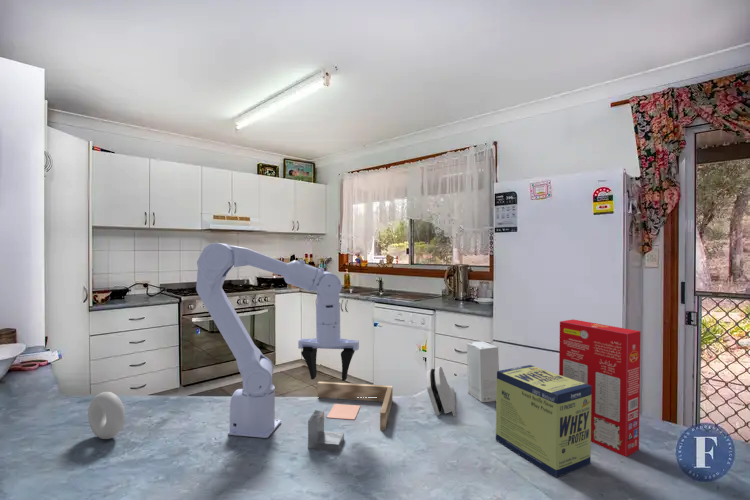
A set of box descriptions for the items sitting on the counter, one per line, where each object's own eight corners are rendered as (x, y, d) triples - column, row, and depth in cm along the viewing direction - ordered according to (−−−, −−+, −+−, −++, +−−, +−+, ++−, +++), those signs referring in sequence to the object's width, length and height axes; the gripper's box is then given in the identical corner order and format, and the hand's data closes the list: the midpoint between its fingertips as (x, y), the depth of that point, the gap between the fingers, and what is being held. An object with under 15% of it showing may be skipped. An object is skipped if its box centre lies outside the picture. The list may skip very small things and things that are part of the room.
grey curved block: (455, 417, 95) (442, 378, 95) (437, 421, 95) (424, 383, 96) (454, 392, 111) (443, 359, 112) (439, 396, 112) (428, 363, 112)
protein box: (557, 479, 70) (558, 394, 69) (494, 440, 83) (494, 370, 83) (592, 464, 74) (593, 385, 74) (527, 430, 88) (528, 363, 88)
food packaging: (638, 449, 80) (640, 331, 80) (625, 456, 77) (627, 334, 77) (571, 421, 92) (573, 319, 92) (558, 426, 90) (559, 321, 90)
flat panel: (326, 417, 94) (326, 417, 94) (334, 404, 102) (334, 403, 102) (354, 419, 93) (354, 419, 93) (360, 406, 101) (360, 405, 101)
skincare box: (500, 401, 104) (500, 347, 104) (480, 403, 103) (481, 348, 103) (484, 390, 113) (484, 340, 112) (465, 392, 111) (466, 341, 111)
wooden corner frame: (297, 423, 91) (297, 406, 90) (318, 395, 108) (318, 381, 108) (385, 430, 88) (385, 412, 88) (392, 400, 105) (392, 385, 105)
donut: (128, 439, 83) (128, 393, 83) (112, 446, 80) (112, 399, 79) (101, 429, 87) (101, 386, 87) (84, 436, 84) (84, 391, 84)
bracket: (308, 449, 79) (308, 420, 79) (315, 437, 84) (315, 410, 84) (338, 451, 78) (338, 422, 78) (343, 439, 83) (343, 412, 83)
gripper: (361, 319, 94) (361, 374, 94) (305, 318, 96) (305, 371, 96) (355, 325, 87) (355, 384, 87) (294, 324, 89) (295, 381, 90)
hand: (329, 378), depth 91 cm, fingers open, 7 cm apart
